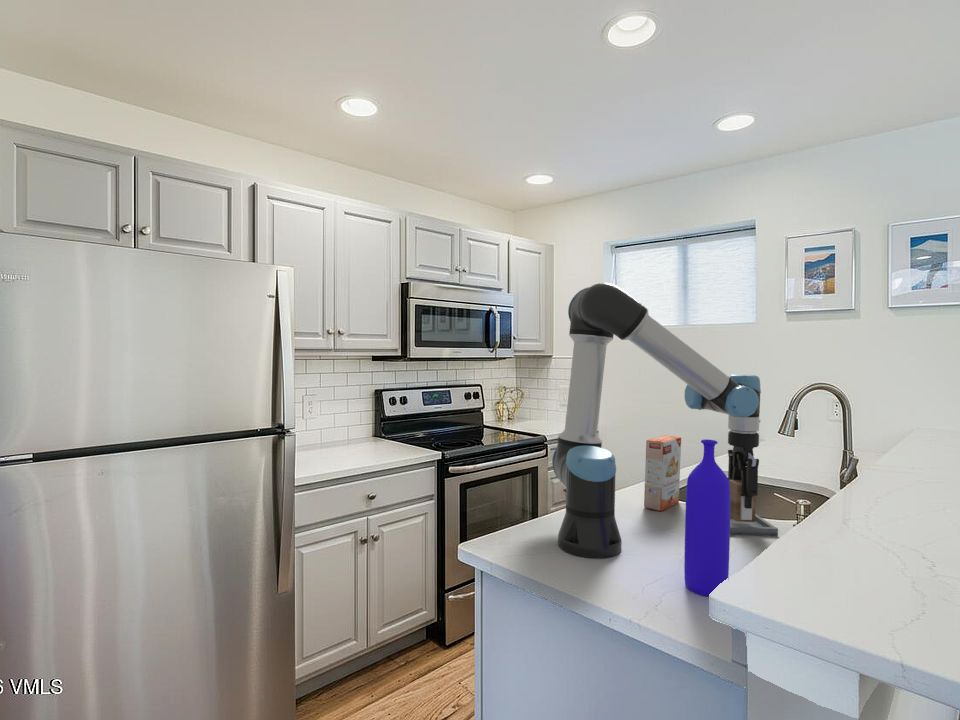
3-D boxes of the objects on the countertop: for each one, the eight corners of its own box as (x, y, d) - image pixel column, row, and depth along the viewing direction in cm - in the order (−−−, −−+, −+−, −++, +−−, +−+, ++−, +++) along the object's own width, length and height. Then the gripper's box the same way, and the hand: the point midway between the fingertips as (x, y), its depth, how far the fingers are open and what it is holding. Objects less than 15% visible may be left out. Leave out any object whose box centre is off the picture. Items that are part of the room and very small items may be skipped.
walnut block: (736, 521, 142) (737, 484, 141) (728, 515, 147) (729, 479, 146) (755, 521, 141) (756, 484, 141) (746, 516, 146) (747, 480, 146)
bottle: (682, 577, 112) (685, 435, 111) (724, 582, 109) (728, 438, 108) (685, 594, 104) (688, 442, 103) (731, 601, 101) (735, 445, 100)
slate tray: (726, 534, 138) (727, 527, 138) (707, 518, 151) (708, 511, 151) (777, 535, 137) (778, 528, 137) (754, 519, 150) (754, 513, 150)
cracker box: (662, 512, 156) (664, 442, 155) (643, 508, 160) (644, 439, 159) (680, 502, 166) (682, 436, 166) (662, 498, 170) (663, 434, 170)
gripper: (774, 437, 134) (772, 527, 135) (742, 426, 152) (740, 506, 153) (744, 436, 135) (742, 526, 135) (716, 426, 153) (714, 505, 153)
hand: (741, 515), depth 144 cm, fingers closed on walnut block, 5 cm apart
